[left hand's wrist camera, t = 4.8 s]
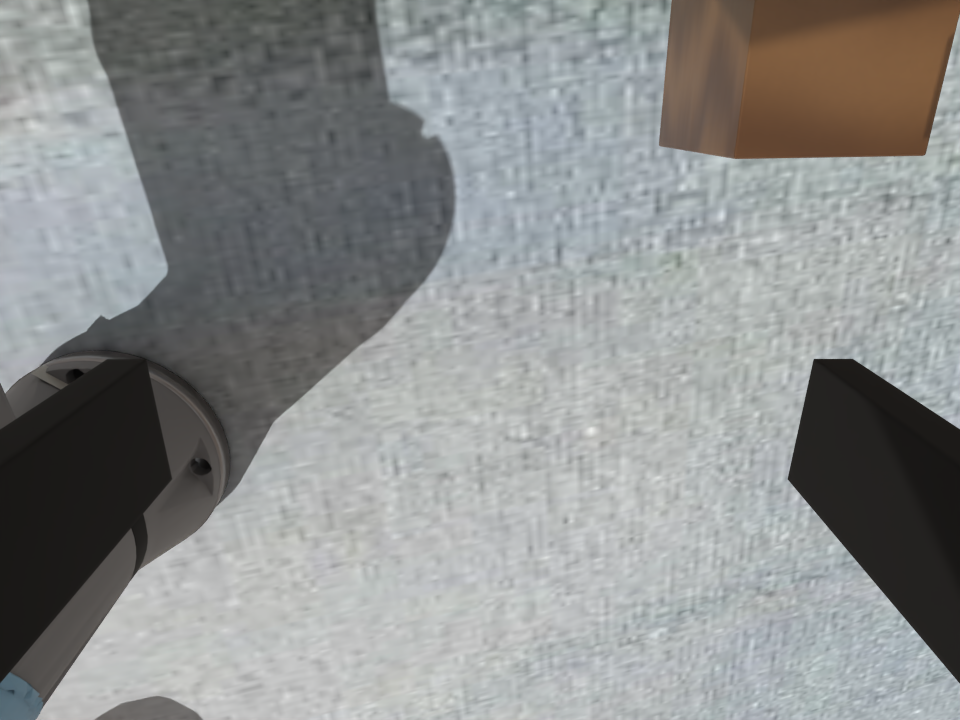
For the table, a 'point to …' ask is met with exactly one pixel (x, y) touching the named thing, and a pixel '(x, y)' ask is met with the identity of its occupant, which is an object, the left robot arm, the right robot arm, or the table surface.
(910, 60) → the bar
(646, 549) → the table surface
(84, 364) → the left robot arm
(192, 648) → the table surface
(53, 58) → the table surface
